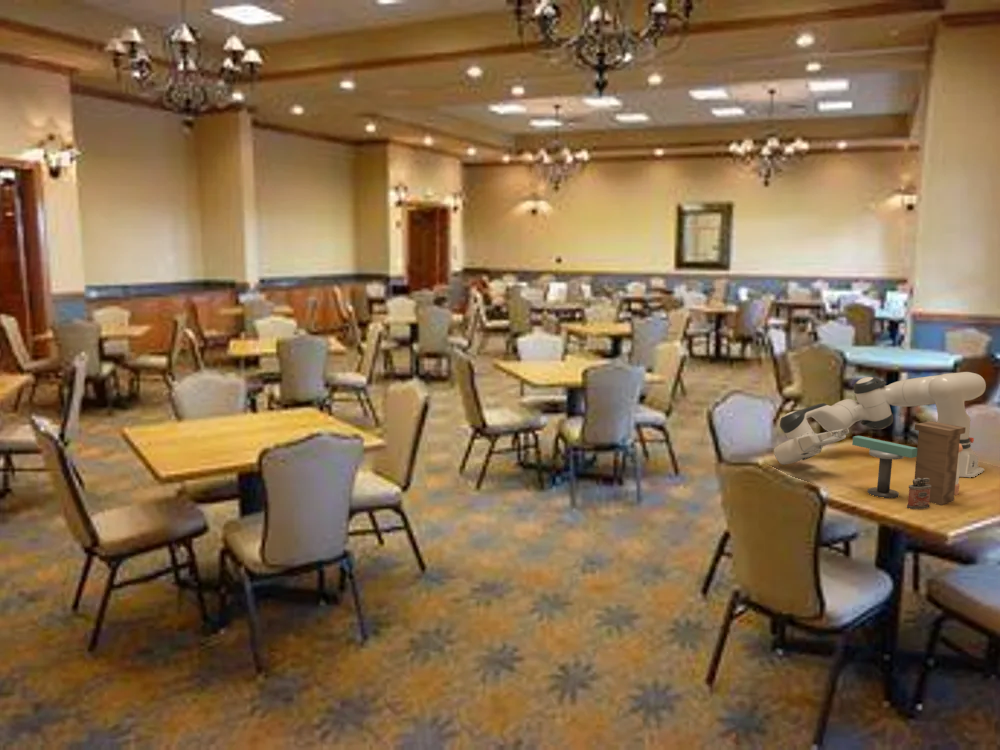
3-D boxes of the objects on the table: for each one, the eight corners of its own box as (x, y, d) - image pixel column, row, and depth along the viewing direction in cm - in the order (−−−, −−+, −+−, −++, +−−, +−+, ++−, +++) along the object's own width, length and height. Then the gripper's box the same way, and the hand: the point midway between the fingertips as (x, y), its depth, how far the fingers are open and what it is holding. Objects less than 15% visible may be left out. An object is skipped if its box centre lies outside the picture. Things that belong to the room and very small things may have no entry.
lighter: (911, 509, 279) (914, 480, 277) (904, 506, 282) (907, 477, 280) (931, 508, 281) (934, 478, 279) (924, 504, 284) (927, 476, 282)
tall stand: (923, 493, 298) (930, 421, 294) (958, 501, 288) (965, 427, 284) (908, 497, 292) (915, 424, 288) (942, 506, 283) (950, 430, 279)
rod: (858, 443, 304) (858, 435, 304) (916, 456, 286) (917, 448, 286) (852, 444, 302) (852, 436, 302) (911, 458, 284) (911, 449, 284)
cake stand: (877, 488, 303) (880, 446, 301) (906, 495, 294) (910, 452, 292) (859, 492, 297) (862, 449, 295) (888, 500, 288) (892, 456, 286)
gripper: (830, 448, 323) (859, 436, 313) (796, 455, 312) (826, 443, 301) (823, 432, 325) (853, 420, 314) (790, 439, 314) (819, 427, 303)
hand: (840, 432), depth 308 cm, fingers open, 8 cm apart
